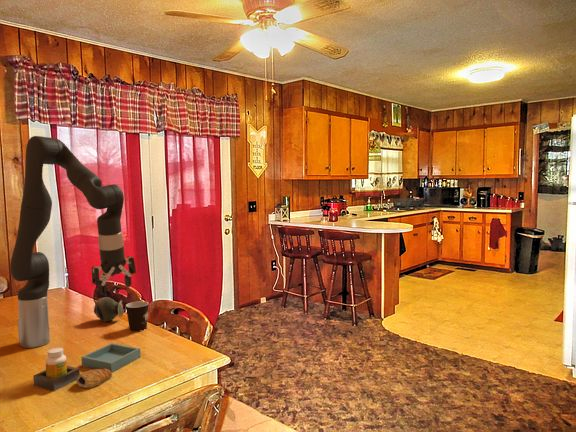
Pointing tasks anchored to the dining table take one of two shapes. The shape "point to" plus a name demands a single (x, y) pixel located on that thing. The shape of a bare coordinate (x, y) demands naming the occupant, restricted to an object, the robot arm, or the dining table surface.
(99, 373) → the pastry
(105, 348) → the tray
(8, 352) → the dining table surface
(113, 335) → the dining table surface
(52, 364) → the supplement bottle
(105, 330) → the dining table surface
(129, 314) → the coffee mug
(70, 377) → the collar
